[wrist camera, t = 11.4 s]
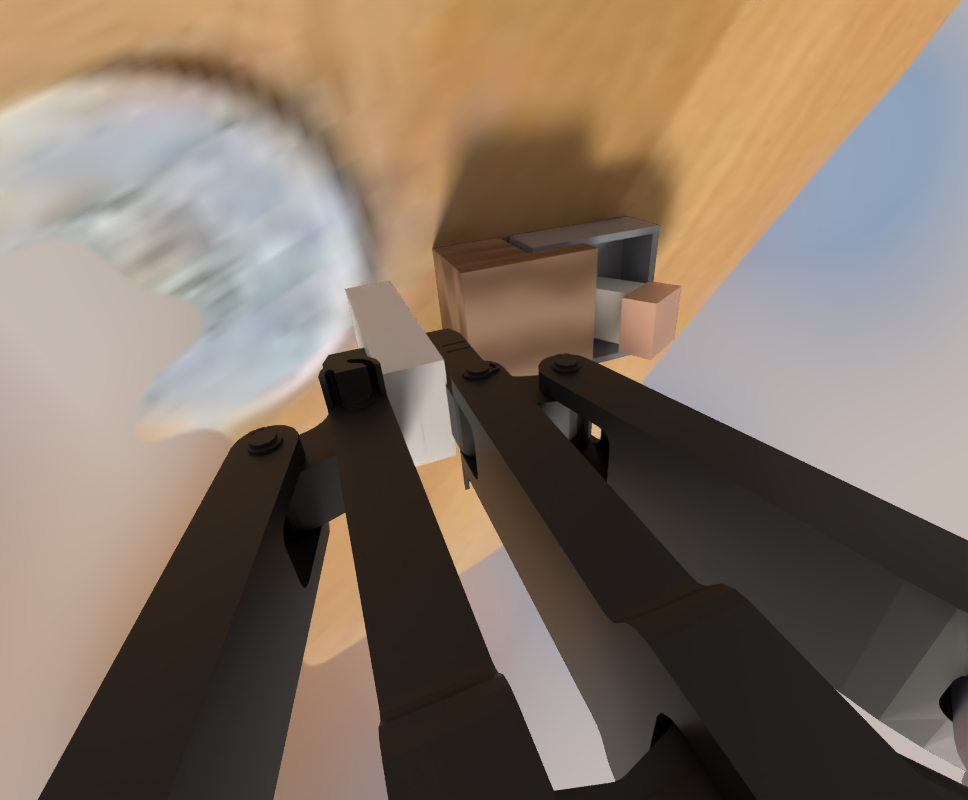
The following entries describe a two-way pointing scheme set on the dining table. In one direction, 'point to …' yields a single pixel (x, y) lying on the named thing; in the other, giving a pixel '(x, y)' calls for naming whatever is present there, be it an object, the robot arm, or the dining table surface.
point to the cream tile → (610, 306)
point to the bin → (604, 255)
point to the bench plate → (518, 300)
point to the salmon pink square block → (648, 319)
